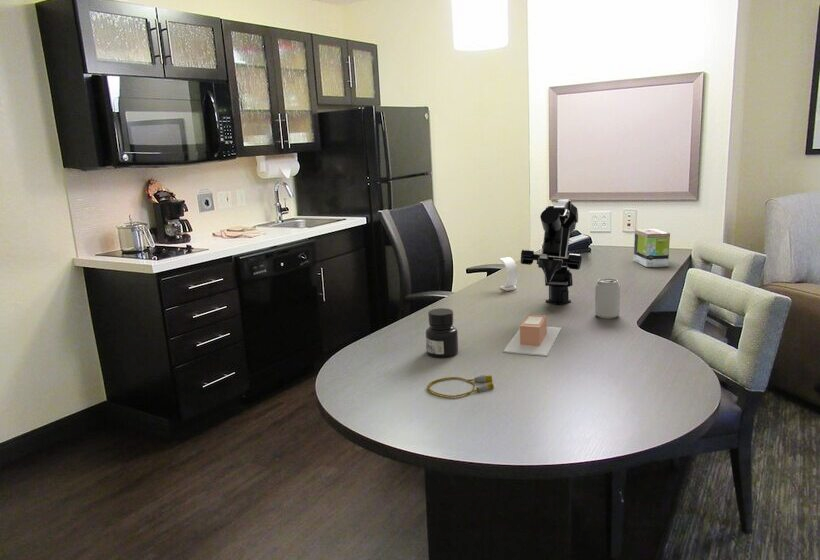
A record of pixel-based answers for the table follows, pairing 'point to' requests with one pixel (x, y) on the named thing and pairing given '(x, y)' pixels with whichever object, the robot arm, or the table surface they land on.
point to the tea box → (651, 247)
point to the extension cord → (477, 379)
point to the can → (607, 298)
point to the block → (533, 330)
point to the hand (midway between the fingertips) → (548, 283)
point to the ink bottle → (441, 334)
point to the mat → (540, 350)
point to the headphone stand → (510, 273)
